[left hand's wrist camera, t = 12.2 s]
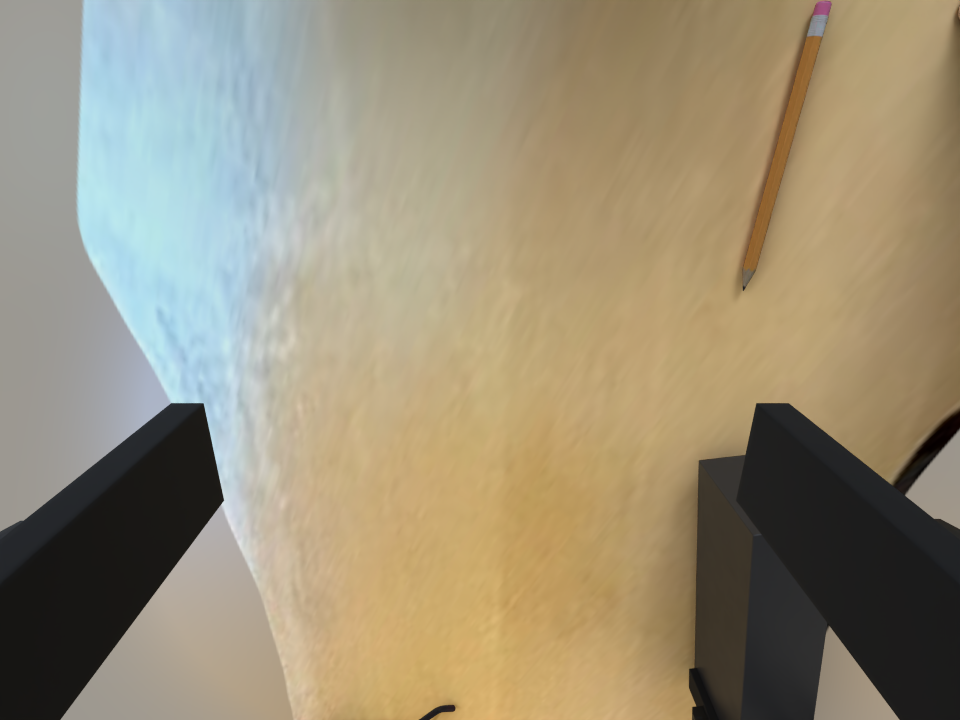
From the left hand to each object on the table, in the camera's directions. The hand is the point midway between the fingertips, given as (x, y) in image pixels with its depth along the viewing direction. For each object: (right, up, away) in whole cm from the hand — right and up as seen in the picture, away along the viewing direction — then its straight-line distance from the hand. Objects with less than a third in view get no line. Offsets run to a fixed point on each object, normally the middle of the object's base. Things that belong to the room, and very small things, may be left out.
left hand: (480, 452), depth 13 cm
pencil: (+21, +17, +25) cm, 37 cm away
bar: (+24, -19, +37) cm, 48 cm away
